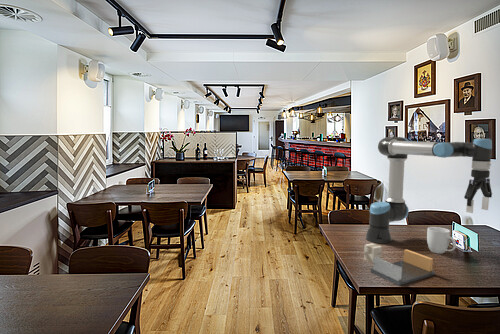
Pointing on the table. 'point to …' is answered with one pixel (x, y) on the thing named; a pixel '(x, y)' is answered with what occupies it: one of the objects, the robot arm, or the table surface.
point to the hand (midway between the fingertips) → (477, 211)
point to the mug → (439, 239)
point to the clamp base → (407, 273)
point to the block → (372, 252)
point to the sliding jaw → (418, 260)
